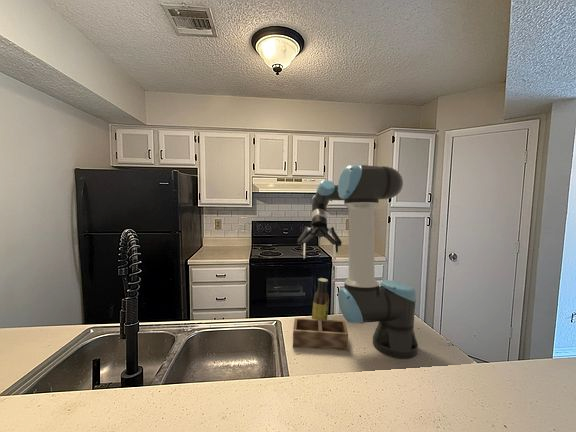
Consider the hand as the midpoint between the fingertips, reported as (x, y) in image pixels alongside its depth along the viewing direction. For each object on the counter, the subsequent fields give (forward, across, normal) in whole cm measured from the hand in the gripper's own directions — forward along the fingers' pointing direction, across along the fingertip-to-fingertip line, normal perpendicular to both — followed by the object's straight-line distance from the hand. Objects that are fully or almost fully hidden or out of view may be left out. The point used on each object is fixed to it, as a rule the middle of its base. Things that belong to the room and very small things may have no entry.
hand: (319, 257), depth 123 cm
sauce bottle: (+27, 0, -9) cm, 29 cm away
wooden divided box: (+35, 0, -2) cm, 35 cm away
